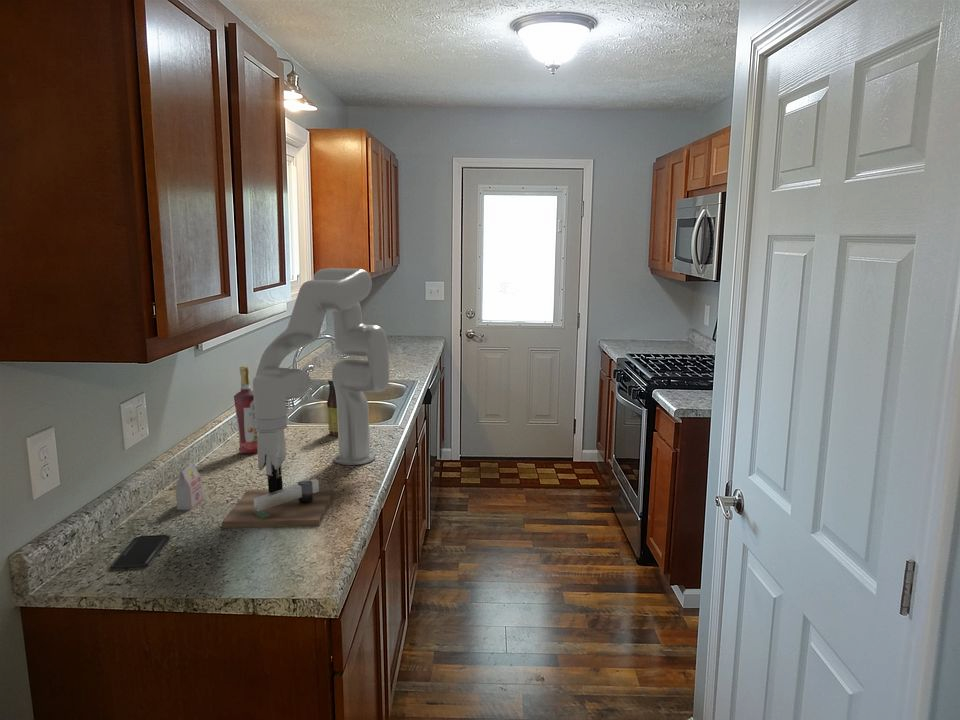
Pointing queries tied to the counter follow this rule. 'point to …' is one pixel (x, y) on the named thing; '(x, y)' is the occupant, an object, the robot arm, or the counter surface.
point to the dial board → (278, 511)
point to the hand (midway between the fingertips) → (275, 491)
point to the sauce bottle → (332, 409)
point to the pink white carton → (189, 489)
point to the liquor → (246, 415)
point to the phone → (140, 552)
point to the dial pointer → (287, 495)
